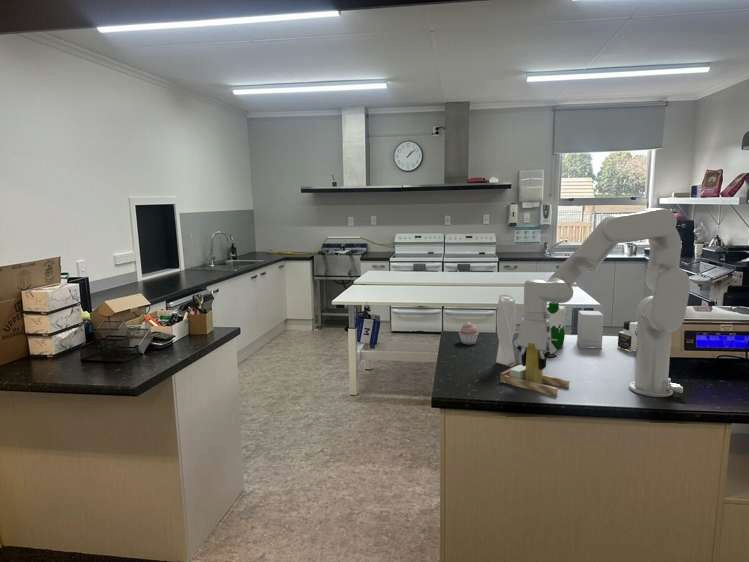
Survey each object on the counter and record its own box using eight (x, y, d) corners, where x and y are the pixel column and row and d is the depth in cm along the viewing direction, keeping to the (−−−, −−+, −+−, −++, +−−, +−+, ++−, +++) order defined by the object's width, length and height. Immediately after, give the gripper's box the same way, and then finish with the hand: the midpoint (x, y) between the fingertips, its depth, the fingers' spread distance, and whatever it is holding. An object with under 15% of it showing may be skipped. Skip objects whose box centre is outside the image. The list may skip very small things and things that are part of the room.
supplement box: (602, 349, 209) (604, 315, 207) (580, 348, 211) (581, 314, 209) (598, 343, 218) (599, 310, 216) (576, 342, 220) (578, 310, 218)
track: (569, 387, 165) (569, 378, 165) (556, 396, 158) (556, 386, 157) (514, 374, 179) (515, 366, 179) (500, 382, 172) (500, 373, 171)
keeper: (529, 378, 173) (530, 366, 173) (520, 384, 168) (520, 371, 168) (519, 376, 176) (519, 364, 175) (509, 381, 171) (509, 369, 170)
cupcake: (478, 340, 227) (478, 319, 225) (479, 345, 218) (480, 323, 216) (457, 339, 228) (458, 319, 227) (458, 345, 219) (458, 323, 217)
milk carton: (540, 348, 212) (541, 303, 209) (545, 343, 220) (546, 299, 217) (561, 350, 207) (563, 304, 205) (565, 345, 215) (567, 301, 212)
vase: (543, 385, 165) (545, 344, 163) (525, 384, 166) (526, 344, 164) (541, 379, 171) (542, 340, 169) (523, 378, 172) (524, 339, 170)
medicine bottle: (617, 347, 211) (618, 320, 209) (630, 346, 213) (631, 319, 211) (630, 352, 204) (631, 324, 202) (643, 350, 206) (645, 322, 204)
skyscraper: (508, 368, 186) (510, 296, 182) (491, 363, 193) (492, 293, 189) (521, 363, 192) (523, 293, 188) (504, 358, 198) (505, 291, 194)
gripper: (564, 317, 162) (562, 369, 165) (517, 310, 174) (516, 359, 176) (554, 321, 157) (553, 375, 159) (506, 314, 169) (505, 364, 171)
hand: (533, 366), depth 168 cm, fingers closed on vase, 5 cm apart
